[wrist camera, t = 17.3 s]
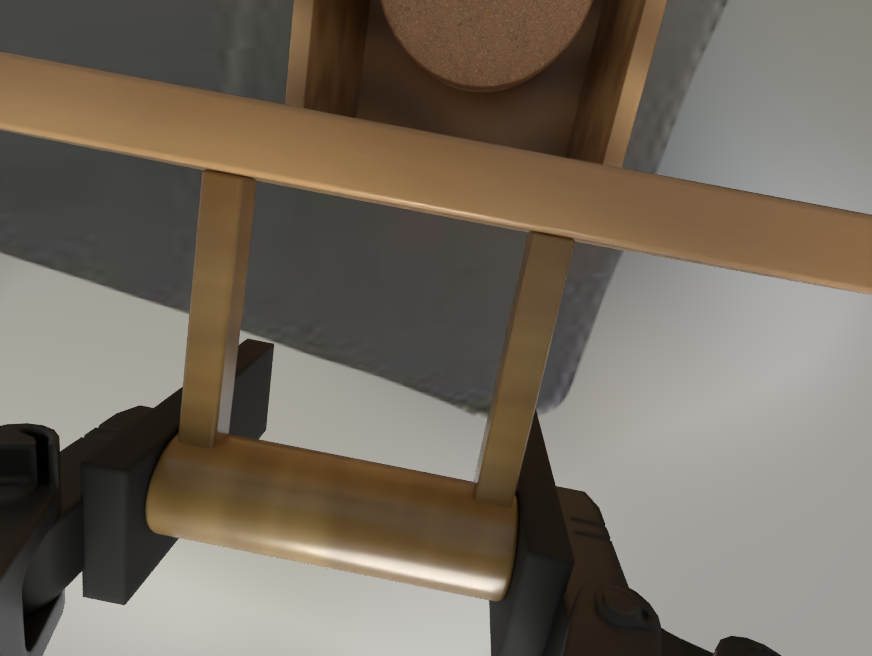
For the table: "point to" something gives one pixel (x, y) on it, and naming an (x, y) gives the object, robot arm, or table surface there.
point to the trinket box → (484, 38)
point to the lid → (415, 190)
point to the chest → (487, 111)
